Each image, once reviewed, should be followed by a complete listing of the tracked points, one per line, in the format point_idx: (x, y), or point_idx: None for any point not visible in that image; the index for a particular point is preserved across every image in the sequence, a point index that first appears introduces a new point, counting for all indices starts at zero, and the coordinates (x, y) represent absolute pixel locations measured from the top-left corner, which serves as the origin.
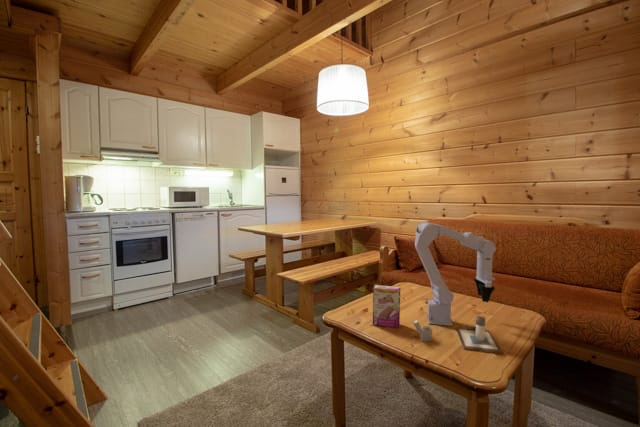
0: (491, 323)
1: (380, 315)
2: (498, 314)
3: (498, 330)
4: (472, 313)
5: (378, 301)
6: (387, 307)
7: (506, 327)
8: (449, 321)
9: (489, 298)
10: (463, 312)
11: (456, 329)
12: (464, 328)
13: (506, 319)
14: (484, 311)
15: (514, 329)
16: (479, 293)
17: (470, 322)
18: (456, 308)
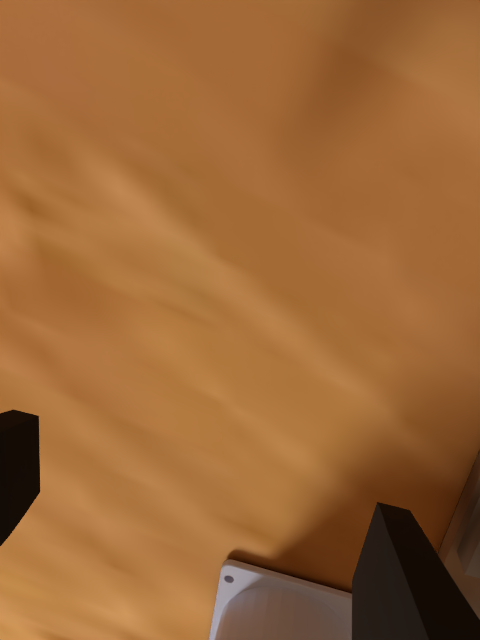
0: (296, 258)
1: None
2: (54, 71)
3: (464, 263)
4: (86, 337)
5: None
6: None
7: (392, 137)
8: (334, 623)
9: (456, 585)
10: (81, 404)
11: None
12: (454, 565)
13: (176, 32)
14: (11, 198)
15: (448, 60)
16: (12, 508)
17: (287, 438)
18: None
